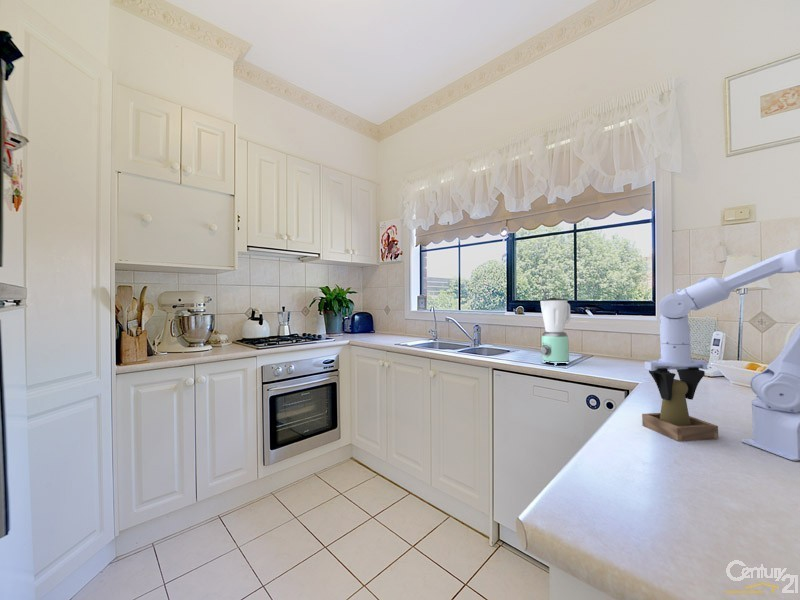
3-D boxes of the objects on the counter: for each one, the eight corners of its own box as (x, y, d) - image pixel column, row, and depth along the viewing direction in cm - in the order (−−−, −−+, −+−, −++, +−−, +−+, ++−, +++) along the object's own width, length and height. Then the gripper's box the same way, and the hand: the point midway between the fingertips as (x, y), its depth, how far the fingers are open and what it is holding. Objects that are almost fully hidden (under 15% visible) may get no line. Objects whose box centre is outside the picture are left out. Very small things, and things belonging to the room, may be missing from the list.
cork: (695, 430, 77) (694, 383, 77) (663, 426, 80) (662, 381, 80) (685, 421, 83) (684, 377, 83) (655, 418, 85) (655, 376, 85)
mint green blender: (553, 367, 165) (551, 297, 166) (533, 363, 177) (531, 298, 178) (580, 364, 172) (578, 297, 173) (559, 360, 184) (557, 298, 185)
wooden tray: (718, 439, 76) (717, 426, 76) (677, 441, 75) (677, 427, 75) (678, 423, 86) (678, 412, 86) (642, 425, 85) (642, 413, 85)
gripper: (687, 340, 85) (689, 393, 85) (634, 342, 84) (636, 395, 84) (715, 343, 78) (717, 401, 78) (657, 345, 77) (659, 403, 77)
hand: (677, 398), depth 81 cm, fingers closed on cork, 5 cm apart
